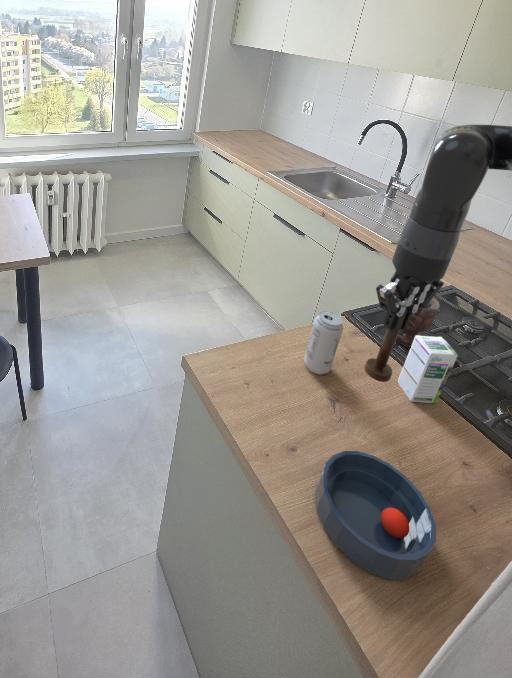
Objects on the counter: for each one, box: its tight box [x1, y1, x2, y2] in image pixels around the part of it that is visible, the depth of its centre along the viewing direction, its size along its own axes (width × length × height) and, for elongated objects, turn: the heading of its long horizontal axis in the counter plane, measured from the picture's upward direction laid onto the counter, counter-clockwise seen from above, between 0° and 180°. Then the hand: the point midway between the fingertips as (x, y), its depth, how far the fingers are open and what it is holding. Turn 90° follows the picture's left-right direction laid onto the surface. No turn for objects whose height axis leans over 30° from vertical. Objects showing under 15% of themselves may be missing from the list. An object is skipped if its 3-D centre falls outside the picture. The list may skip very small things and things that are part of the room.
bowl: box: [314, 450, 437, 580], centre depth 70 cm, size 16×16×6 cm
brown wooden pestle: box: [364, 304, 407, 383], centre depth 77 cm, size 4×4×16 cm
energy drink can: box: [303, 310, 344, 376], centre depth 99 cm, size 6×6×15 cm
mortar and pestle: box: [395, 296, 441, 348], centre depth 107 cm, size 12×9×20 cm
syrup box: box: [397, 335, 459, 404], centre depth 93 cm, size 6×6×14 cm
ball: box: [381, 508, 409, 539], centre depth 68 cm, size 4×4×4 cm
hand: (394, 327), depth 76 cm, fingers closed on brown wooden pestle, 2 cm apart
